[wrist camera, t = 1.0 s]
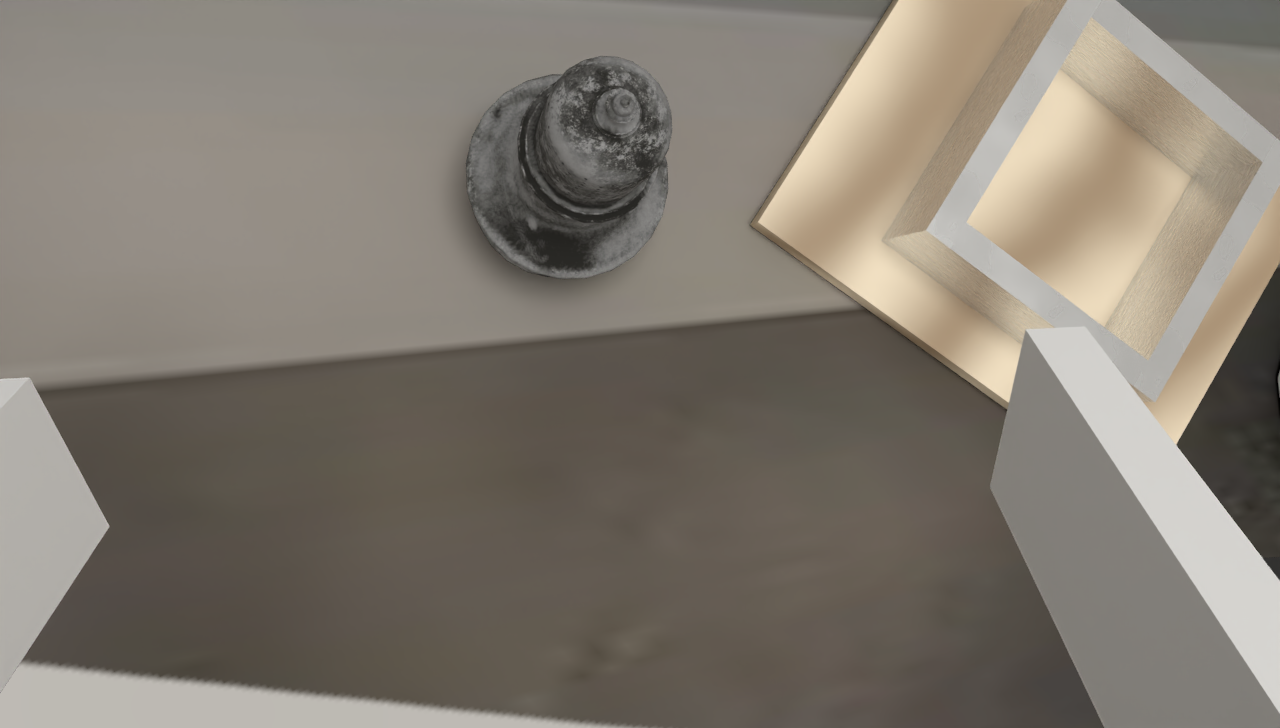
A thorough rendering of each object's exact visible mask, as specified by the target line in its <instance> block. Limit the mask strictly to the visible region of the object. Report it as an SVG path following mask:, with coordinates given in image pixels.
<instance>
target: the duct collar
mask: <svg viewBox="0 0 1280 728" xmlns="http://www.w3.org/2000/svg"><path fill="white" fill-rule="evenodd" d="M1059 69H1060V70H1062V71H1063V72H1064V73H1065V74H1066V75H1068V76H1069V77H1070V78H1071V79H1072V80H1074V81H1075V82H1076V83H1077V84H1079V85H1080V86H1081V87H1082V88H1083V89H1085V90H1086V91H1087V92H1088V93H1089V94H1091V95H1092V96H1093V97H1094V98H1096V99H1097V100H1098V101H1099V102H1100V103H1102V104H1103V105H1104V106H1105V107H1106V108H1108V109H1109V110H1110V111H1111V112H1113V113H1114V114H1115V115H1116V116H1117V117H1119V118H1120V119H1121V120H1122V121H1123V122H1125V123H1126V124H1127V125H1128V126H1129V127H1131V128H1132V129H1133V130H1134V131H1136V132H1137V133H1138V134H1139V135H1140V136H1142V137H1143V138H1144V139H1145V140H1146V141H1148V142H1149V143H1150V144H1151V145H1153V146H1154V147H1155V148H1156V149H1157V150H1159V151H1160V152H1161V153H1162V154H1163V155H1165V156H1166V157H1167V158H1168V159H1169V160H1171V161H1172V162H1173V163H1174V164H1176V165H1177V166H1178V167H1179V168H1180V169H1182V170H1183V171H1184V172H1185V173H1186V174H1188V175H1189V176H1190V177H1191V180H1190V182H1189V183H1188V185H1187V187H1186V189H1185V190H1184V192H1183V194H1182V195H1181V197H1180V199H1179V201H1178V202H1177V204H1176V206H1175V207H1174V209H1173V211H1172V213H1171V214H1170V216H1169V218H1168V219H1167V221H1166V223H1165V225H1164V226H1163V228H1162V230H1161V231H1160V233H1159V235H1158V236H1157V238H1156V240H1155V242H1154V243H1153V245H1152V247H1151V248H1150V250H1149V252H1148V254H1147V255H1146V257H1145V259H1144V260H1143V262H1142V264H1141V266H1140V267H1139V269H1138V271H1137V272H1136V274H1135V276H1134V278H1133V279H1132V281H1131V283H1130V284H1129V286H1128V288H1127V289H1126V291H1125V293H1124V295H1123V296H1122V298H1121V300H1120V301H1119V303H1118V305H1117V307H1116V308H1115V310H1114V312H1113V313H1112V315H1111V317H1110V319H1109V320H1108V322H1107V324H1106V325H1105V327H1103V326H1102V325H1101V324H1099V323H1098V322H1097V321H1095V320H1094V319H1093V318H1091V317H1090V316H1089V315H1088V314H1086V313H1085V312H1084V311H1082V310H1081V309H1080V308H1078V307H1077V306H1076V305H1074V304H1073V303H1072V302H1070V301H1069V300H1068V299H1067V298H1065V297H1064V296H1063V295H1061V294H1060V293H1059V292H1057V291H1056V290H1055V289H1053V288H1052V287H1051V286H1049V285H1048V284H1047V283H1046V282H1044V281H1043V280H1042V279H1040V278H1039V277H1038V276H1036V275H1035V274H1034V273H1032V272H1031V271H1030V270H1028V269H1027V268H1026V267H1025V266H1023V265H1022V264H1021V263H1019V262H1018V261H1017V260H1015V259H1014V258H1013V257H1011V256H1010V255H1009V254H1007V253H1006V252H1005V251H1004V250H1002V249H1001V248H1000V247H998V246H997V245H996V244H994V243H993V242H992V241H990V240H989V239H988V238H986V237H985V236H984V235H983V234H981V233H980V232H979V231H977V230H976V229H975V228H973V227H972V226H971V225H969V224H968V223H967V220H968V219H969V217H970V215H971V214H972V212H973V211H974V209H975V207H976V206H977V204H978V202H979V201H980V199H981V197H982V196H983V194H984V192H985V191H986V189H987V188H988V186H989V184H990V183H991V181H992V179H993V178H994V176H995V174H996V173H997V171H998V170H999V168H1000V166H1001V165H1002V163H1003V161H1004V160H1005V158H1006V156H1007V155H1008V153H1009V151H1010V150H1011V148H1012V147H1013V145H1014V143H1015V142H1016V140H1017V138H1018V137H1019V135H1020V133H1021V132H1022V130H1023V128H1024V127H1025V125H1026V124H1027V122H1028V120H1029V119H1030V117H1031V115H1032V114H1033V112H1034V110H1035V109H1036V107H1037V105H1038V104H1039V102H1040V101H1041V99H1042V97H1043V96H1044V94H1045V92H1046V91H1047V89H1048V87H1049V86H1050V84H1051V83H1052V81H1053V79H1054V78H1055V76H1056V74H1057V73H1058V71H1059ZM1279 186H1280V141H1279V140H1278V139H1277V138H1276V137H1275V136H1273V135H1272V134H1271V133H1270V132H1269V131H1268V130H1266V129H1265V128H1264V127H1263V126H1262V125H1261V124H1259V123H1258V122H1257V121H1256V120H1255V119H1254V118H1252V117H1251V116H1250V115H1249V114H1248V113H1247V112H1245V111H1244V110H1243V109H1242V108H1241V107H1240V106H1238V105H1237V104H1236V103H1235V102H1234V101H1233V100H1231V99H1230V98H1229V97H1228V96H1227V95H1226V94H1224V93H1223V92H1222V91H1221V90H1220V89H1219V88H1217V87H1216V86H1215V85H1214V84H1213V83H1212V82H1210V81H1209V80H1208V79H1207V78H1206V77H1205V76H1203V75H1202V74H1201V73H1200V72H1199V71H1198V70H1196V69H1195V68H1194V67H1193V66H1192V65H1191V64H1189V63H1188V62H1187V61H1186V60H1185V59H1184V58H1182V57H1181V56H1180V55H1179V54H1178V53H1177V52H1175V51H1174V50H1173V49H1172V48H1171V47H1170V46H1168V45H1167V44H1166V43H1165V42H1164V41H1163V40H1161V39H1160V38H1159V37H1158V36H1157V35H1156V34H1154V33H1153V32H1152V31H1151V30H1150V29H1149V28H1147V27H1146V26H1145V25H1144V24H1143V23H1142V22H1141V21H1139V20H1138V19H1137V18H1136V17H1135V16H1134V15H1132V14H1131V13H1130V12H1129V11H1128V10H1127V9H1125V8H1124V7H1123V6H1122V5H1121V4H1120V3H1118V2H1117V1H1116V0H1036V1H1035V2H1033V3H1031V4H1029V5H1028V6H1026V7H1025V9H1024V10H1023V12H1022V13H1021V15H1020V17H1019V18H1018V20H1017V22H1016V23H1015V25H1014V26H1013V28H1012V30H1011V31H1010V33H1009V34H1008V36H1007V38H1006V39H1005V41H1004V43H1003V44H1002V46H1001V47H1000V49H999V51H998V52H997V54H996V56H995V57H994V59H993V60H992V62H991V64H990V65H989V67H988V68H987V70H986V72H985V73H984V75H983V77H982V78H981V80H980V81H979V83H978V85H977V86H976V88H975V89H974V91H973V93H972V94H971V96H970V98H969V99H968V101H967V102H966V104H965V106H964V107H963V109H962V111H961V112H960V114H959V115H958V117H957V119H956V120H955V122H954V123H953V125H952V127H951V128H950V130H949V132H948V133H947V135H946V136H945V138H944V140H943V141H942V143H941V144H940V146H939V148H938V149H937V151H936V153H935V154H934V156H933V157H932V159H931V161H930V162H929V164H928V166H927V167H926V169H925V170H924V172H923V174H922V175H921V177H920V178H919V180H918V182H917V183H916V185H915V187H914V188H913V190H912V191H911V193H910V195H909V196H908V198H907V199H906V201H905V203H904V204H903V206H902V208H901V209H900V211H899V212H898V214H897V216H896V217H895V219H894V221H893V222H892V224H891V225H890V227H889V229H888V230H887V232H886V233H885V235H884V237H883V238H882V240H881V241H882V242H883V243H885V244H886V245H888V246H889V247H890V248H892V249H893V250H894V251H896V252H897V253H898V254H900V255H901V256H902V257H904V258H905V259H906V260H908V261H909V262H911V263H912V264H913V265H915V266H916V267H917V268H919V269H920V270H921V271H923V272H924V273H925V274H927V275H928V276H929V277H931V278H932V279H934V280H935V281H936V282H938V283H939V284H940V285H942V286H943V287H944V288H946V289H947V290H948V291H950V292H951V293H952V294H954V295H955V296H957V297H958V298H959V299H961V300H962V301H963V302H965V303H966V304H967V305H969V306H970V307H971V308H973V309H974V310H975V311H977V312H978V313H980V314H981V315H982V316H984V317H985V318H986V319H988V320H989V321H990V322H992V323H993V324H994V325H996V326H997V327H998V328H1000V329H1001V330H1003V331H1004V332H1005V333H1007V334H1008V335H1009V336H1011V337H1012V338H1013V339H1015V340H1016V341H1017V342H1019V343H1020V344H1021V345H1022V343H1023V338H1024V334H1025V329H1042V328H1062V327H1083V326H1085V327H1086V328H1087V329H1088V331H1089V332H1090V333H1091V335H1092V336H1093V337H1094V339H1095V340H1096V341H1097V343H1098V344H1099V345H1100V346H1101V348H1102V349H1103V350H1104V352H1105V353H1106V354H1107V356H1108V357H1109V358H1110V360H1111V361H1112V362H1113V363H1114V365H1115V366H1116V367H1117V369H1118V370H1119V371H1120V373H1121V374H1122V375H1123V377H1124V378H1125V379H1126V380H1127V382H1128V383H1129V384H1130V386H1131V387H1132V388H1133V390H1134V391H1135V392H1136V394H1137V395H1138V396H1139V397H1140V399H1141V400H1142V401H1145V402H1156V400H1157V398H1158V397H1159V395H1160V393H1161V391H1162V390H1163V388H1164V386H1165V384H1166V383H1167V381H1168V379H1169V377H1170V376H1171V374H1172V372H1173V370H1174V369H1175V367H1176V365H1177V364H1178V362H1179V360H1180V358H1181V357H1182V355H1183V353H1184V351H1185V350H1186V348H1187V346H1188V344H1189V343H1190V341H1191V339H1192V337H1193V336H1194V334H1195V332H1196V330H1197V329H1198V327H1199V325H1200V323H1201V322H1202V320H1203V318H1204V316H1205V315H1206V313H1207V311H1208V309H1209V308H1210V306H1211V304H1212V302H1213V301H1214V299H1215V297H1216V296H1217V294H1218V292H1219V290H1220V289H1221V287H1222V285H1223V283H1224V282H1225V280H1226V278H1227V276H1228V275H1229V273H1230V271H1231V269H1232V268H1233V266H1234V264H1235V262H1236V261H1237V259H1238V257H1239V255H1240V254H1241V252H1242V250H1243V248H1244V247H1245V245H1246V243H1247V241H1248V240H1249V238H1250V236H1251V234H1252V233H1253V231H1254V229H1255V228H1256V226H1257V224H1258V222H1259V221H1260V219H1261V217H1262V215H1263V214H1264V212H1265V210H1266V208H1267V207H1268V205H1269V203H1270V201H1271V200H1272V198H1273V196H1274V194H1275V193H1276V191H1277V189H1278V187H1279Z"/></svg>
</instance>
